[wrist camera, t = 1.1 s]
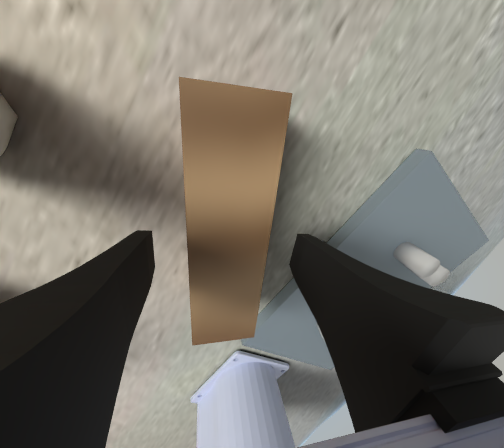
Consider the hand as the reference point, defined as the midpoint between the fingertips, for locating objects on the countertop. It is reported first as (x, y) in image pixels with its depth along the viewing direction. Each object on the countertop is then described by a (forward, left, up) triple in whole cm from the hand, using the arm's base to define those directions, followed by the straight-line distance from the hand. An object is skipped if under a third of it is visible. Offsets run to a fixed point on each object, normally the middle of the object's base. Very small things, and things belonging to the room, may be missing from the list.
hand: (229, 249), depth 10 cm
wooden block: (0, 0, -5) cm, 5 cm away
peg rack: (+1, -16, -5) cm, 17 cm away
